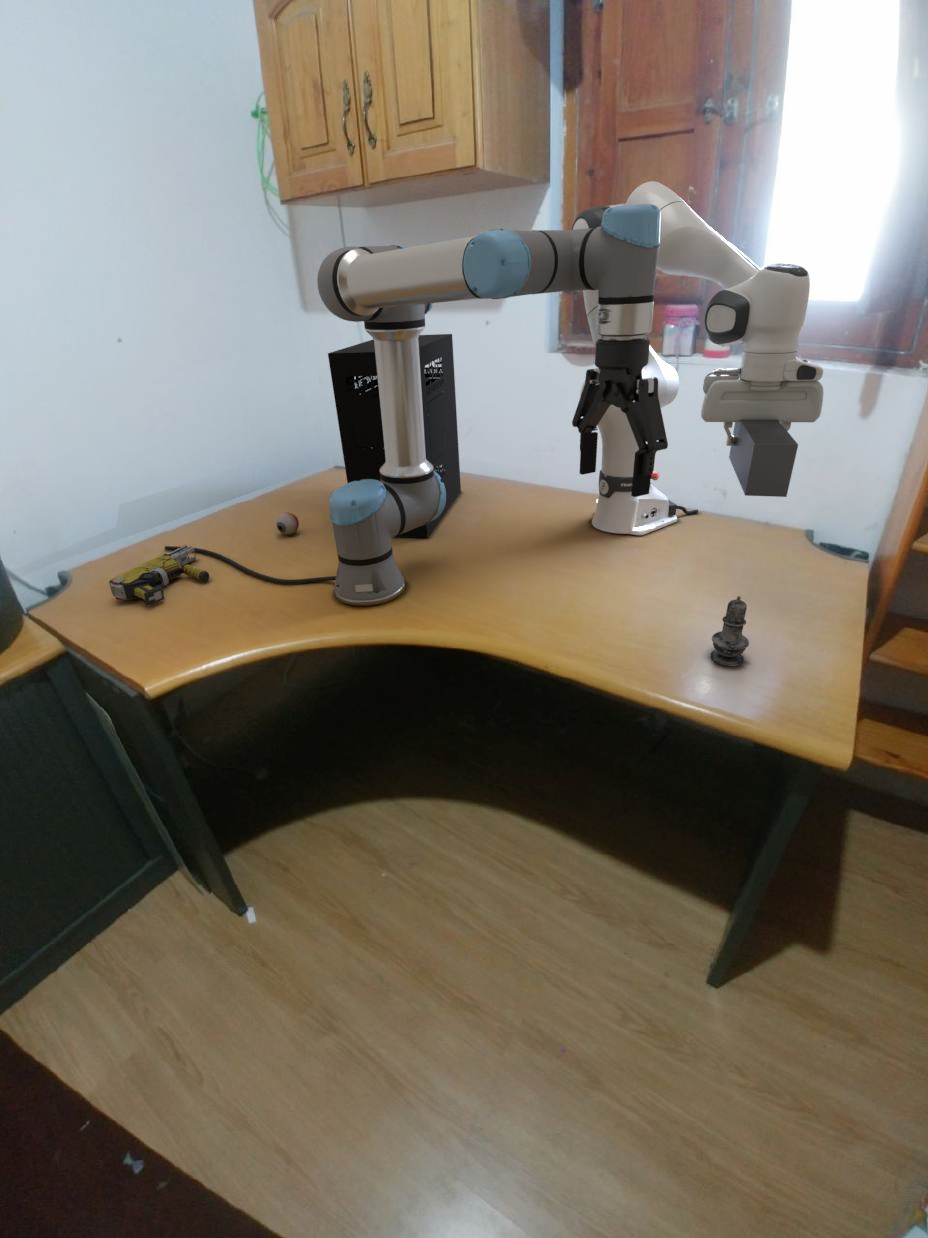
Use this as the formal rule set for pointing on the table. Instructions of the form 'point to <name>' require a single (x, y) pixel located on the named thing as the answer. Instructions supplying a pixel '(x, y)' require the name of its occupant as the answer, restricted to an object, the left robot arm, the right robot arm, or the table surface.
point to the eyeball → (287, 523)
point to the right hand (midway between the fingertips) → (752, 445)
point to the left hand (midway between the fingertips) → (612, 483)
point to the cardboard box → (365, 421)
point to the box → (763, 457)
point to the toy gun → (155, 576)
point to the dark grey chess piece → (731, 636)
